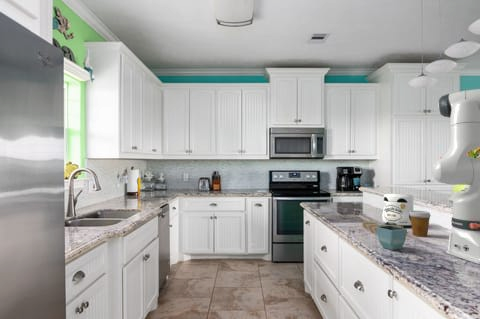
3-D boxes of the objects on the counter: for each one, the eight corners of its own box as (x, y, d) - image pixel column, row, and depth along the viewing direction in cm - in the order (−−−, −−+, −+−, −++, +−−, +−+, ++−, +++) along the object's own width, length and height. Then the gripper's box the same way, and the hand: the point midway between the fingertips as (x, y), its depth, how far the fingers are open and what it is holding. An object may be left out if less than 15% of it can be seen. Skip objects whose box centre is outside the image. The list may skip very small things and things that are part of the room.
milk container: (384, 227, 176) (384, 196, 176) (380, 222, 193) (380, 193, 193) (418, 229, 171) (418, 197, 171) (411, 223, 188) (411, 194, 188)
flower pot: (390, 244, 140) (390, 225, 140) (407, 250, 131) (407, 228, 131) (375, 246, 136) (375, 226, 136) (392, 252, 128) (392, 230, 128)
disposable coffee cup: (435, 236, 154) (435, 212, 154) (421, 238, 151) (421, 214, 151) (418, 232, 163) (418, 210, 163) (405, 234, 160) (404, 211, 160)
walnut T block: (413, 237, 154) (413, 231, 154) (381, 237, 154) (381, 231, 154) (389, 226, 178) (389, 221, 178) (362, 226, 178) (362, 221, 178)
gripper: (456, 185, 168) (438, 203, 168) (486, 189, 147) (466, 209, 147) (464, 193, 168) (446, 211, 168) (495, 198, 147) (475, 219, 147)
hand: (456, 210), depth 157 cm, fingers closed
